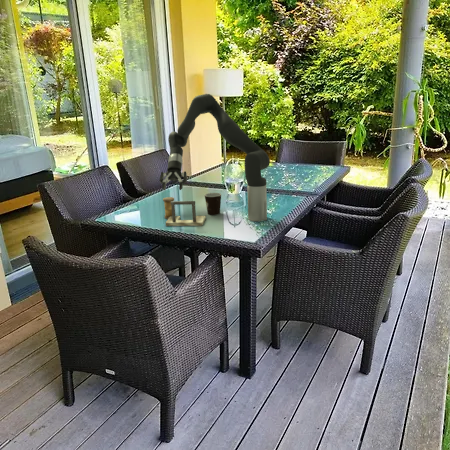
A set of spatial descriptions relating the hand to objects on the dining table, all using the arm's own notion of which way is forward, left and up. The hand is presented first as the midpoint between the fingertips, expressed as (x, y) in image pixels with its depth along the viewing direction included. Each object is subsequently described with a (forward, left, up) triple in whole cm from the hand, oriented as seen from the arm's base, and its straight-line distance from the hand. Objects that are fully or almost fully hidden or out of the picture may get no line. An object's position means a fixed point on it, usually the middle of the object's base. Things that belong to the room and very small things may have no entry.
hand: (172, 189), depth 231 cm
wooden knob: (0, +9, -13) cm, 16 cm away
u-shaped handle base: (-10, +17, -13) cm, 23 cm away
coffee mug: (-22, +4, -13) cm, 26 cm away
